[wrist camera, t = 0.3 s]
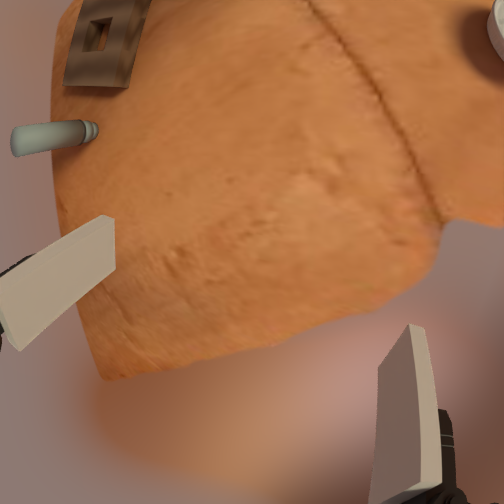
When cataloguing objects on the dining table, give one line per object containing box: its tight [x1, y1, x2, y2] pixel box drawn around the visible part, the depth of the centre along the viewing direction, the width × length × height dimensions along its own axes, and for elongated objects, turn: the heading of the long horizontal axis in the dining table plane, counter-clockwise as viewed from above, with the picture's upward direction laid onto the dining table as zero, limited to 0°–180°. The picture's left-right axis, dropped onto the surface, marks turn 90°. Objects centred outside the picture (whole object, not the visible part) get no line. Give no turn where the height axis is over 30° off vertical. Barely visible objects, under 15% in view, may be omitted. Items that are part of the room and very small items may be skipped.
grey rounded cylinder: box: [10, 120, 99, 157], centre depth 37 cm, size 4×4×16 cm
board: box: [62, 0, 151, 88], centre depth 35 cm, size 18×14×4 cm
